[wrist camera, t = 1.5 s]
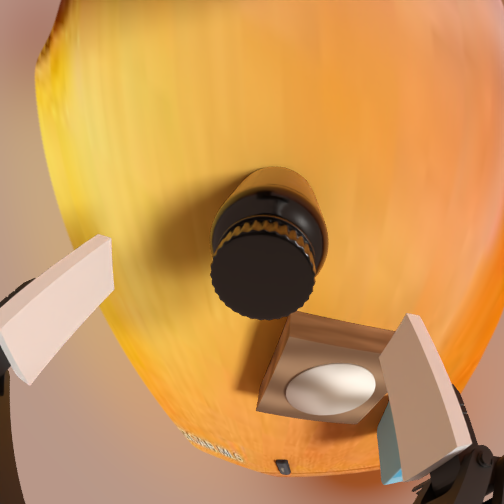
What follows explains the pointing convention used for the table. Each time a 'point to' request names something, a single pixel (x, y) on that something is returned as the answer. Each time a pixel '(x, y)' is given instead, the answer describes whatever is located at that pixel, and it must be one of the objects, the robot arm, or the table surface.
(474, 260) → the table surface
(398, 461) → the light-blue rounded block
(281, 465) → the usb stick
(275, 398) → the base
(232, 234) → the supplement bottle
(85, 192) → the table surface
